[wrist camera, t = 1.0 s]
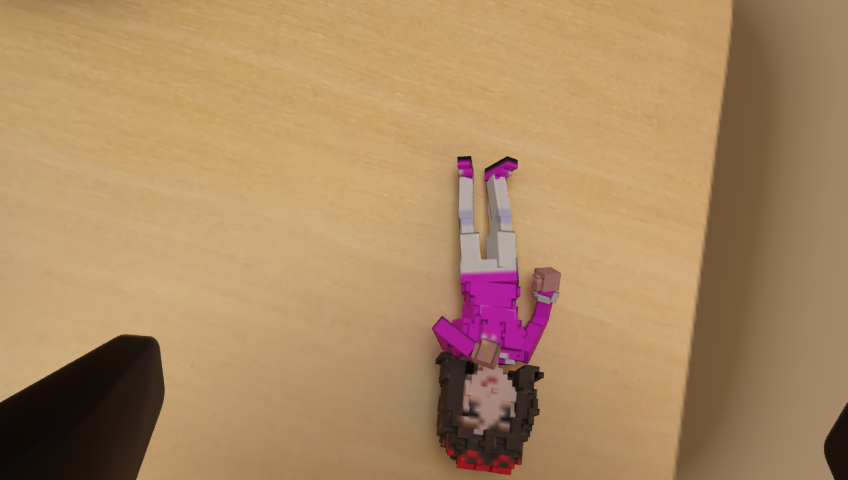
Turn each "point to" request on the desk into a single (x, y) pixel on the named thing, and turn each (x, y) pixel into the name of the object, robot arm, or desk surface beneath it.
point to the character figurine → (490, 338)
